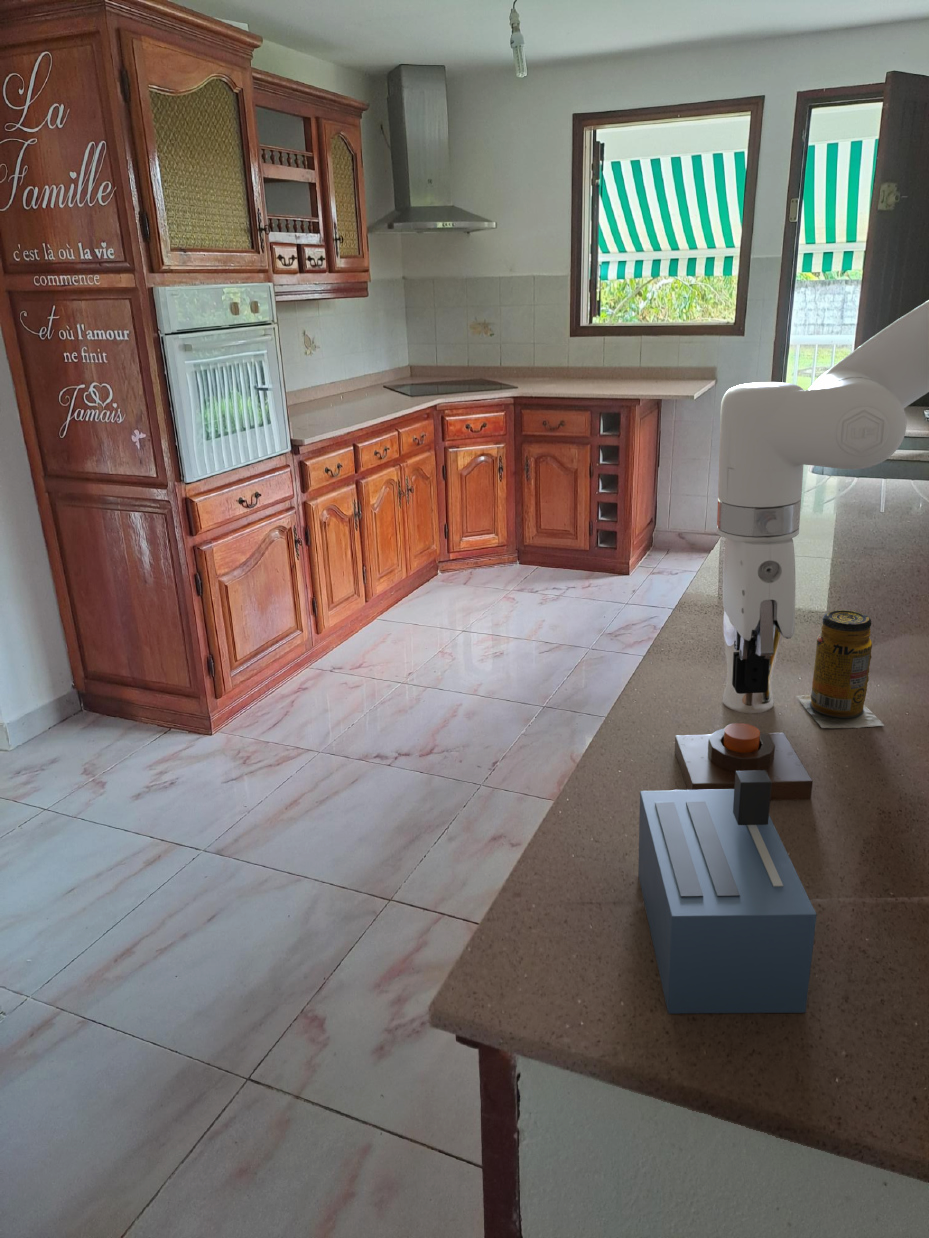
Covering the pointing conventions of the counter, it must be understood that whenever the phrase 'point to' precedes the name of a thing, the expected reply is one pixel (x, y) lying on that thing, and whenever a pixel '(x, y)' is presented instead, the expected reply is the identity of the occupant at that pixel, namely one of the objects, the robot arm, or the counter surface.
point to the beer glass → (731, 698)
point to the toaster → (722, 907)
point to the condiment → (841, 672)
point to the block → (742, 764)
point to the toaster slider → (752, 797)
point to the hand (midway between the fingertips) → (749, 689)
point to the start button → (741, 737)
